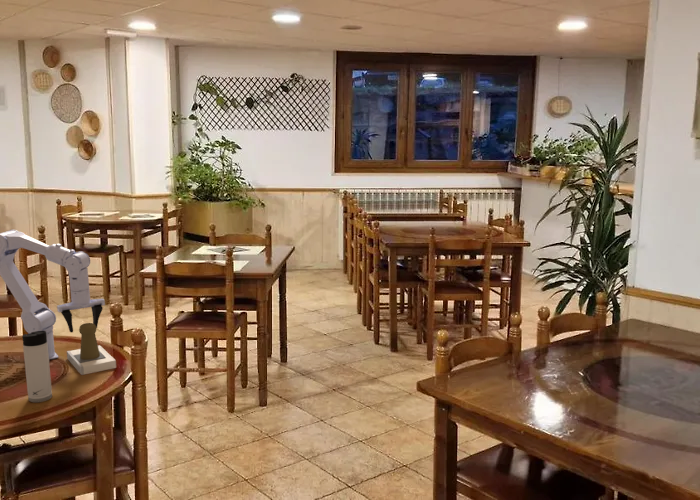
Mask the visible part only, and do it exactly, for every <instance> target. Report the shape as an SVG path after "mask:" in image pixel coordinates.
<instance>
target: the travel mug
mask: <svg viewBox="0 0 700 500" xmlns="http://www.w3.org/2000/svg"><path fill="white" fill-rule="evenodd" d="M46 338H47V336H46V331H36V332H31V333H30V334H28V333H27V334H26V333H24V334H22V347H23V357H24V358H23V359H24V369H25V377H26V390H27V396H28V397H27V399H28V400H27V401H28V402H31V403H43V402H47V401H49V400H50V399H52V398H53V391H52V389H53V388H52V379H51V370H50V369H51V368H50V367H51V365H50V359H49V355H48V344H47V339H46Z"/></svg>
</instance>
